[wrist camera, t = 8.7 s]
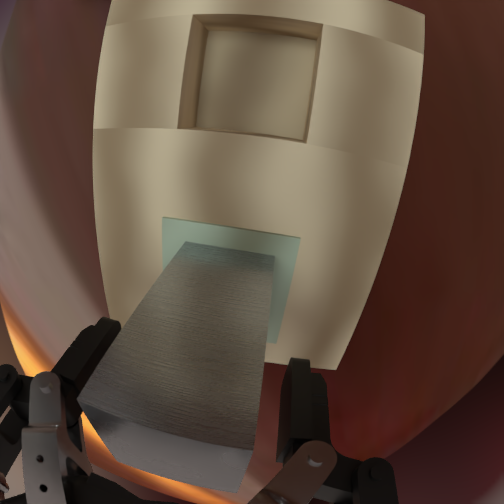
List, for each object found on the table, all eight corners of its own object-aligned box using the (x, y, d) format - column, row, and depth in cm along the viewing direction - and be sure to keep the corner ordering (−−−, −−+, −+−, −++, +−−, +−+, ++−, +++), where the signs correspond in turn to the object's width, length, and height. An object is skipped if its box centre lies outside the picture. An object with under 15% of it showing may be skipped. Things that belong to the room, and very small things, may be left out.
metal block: (274, 255, 14) (253, 450, 5) (261, 325, 16) (236, 493, 7) (185, 241, 14) (76, 399, 6) (185, 311, 17) (117, 461, 8)
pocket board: (398, 32, 12) (426, 13, 8) (330, 331, 21) (336, 372, 18) (145, 8, 12) (112, -11, 8) (134, 297, 22) (111, 328, 18)
